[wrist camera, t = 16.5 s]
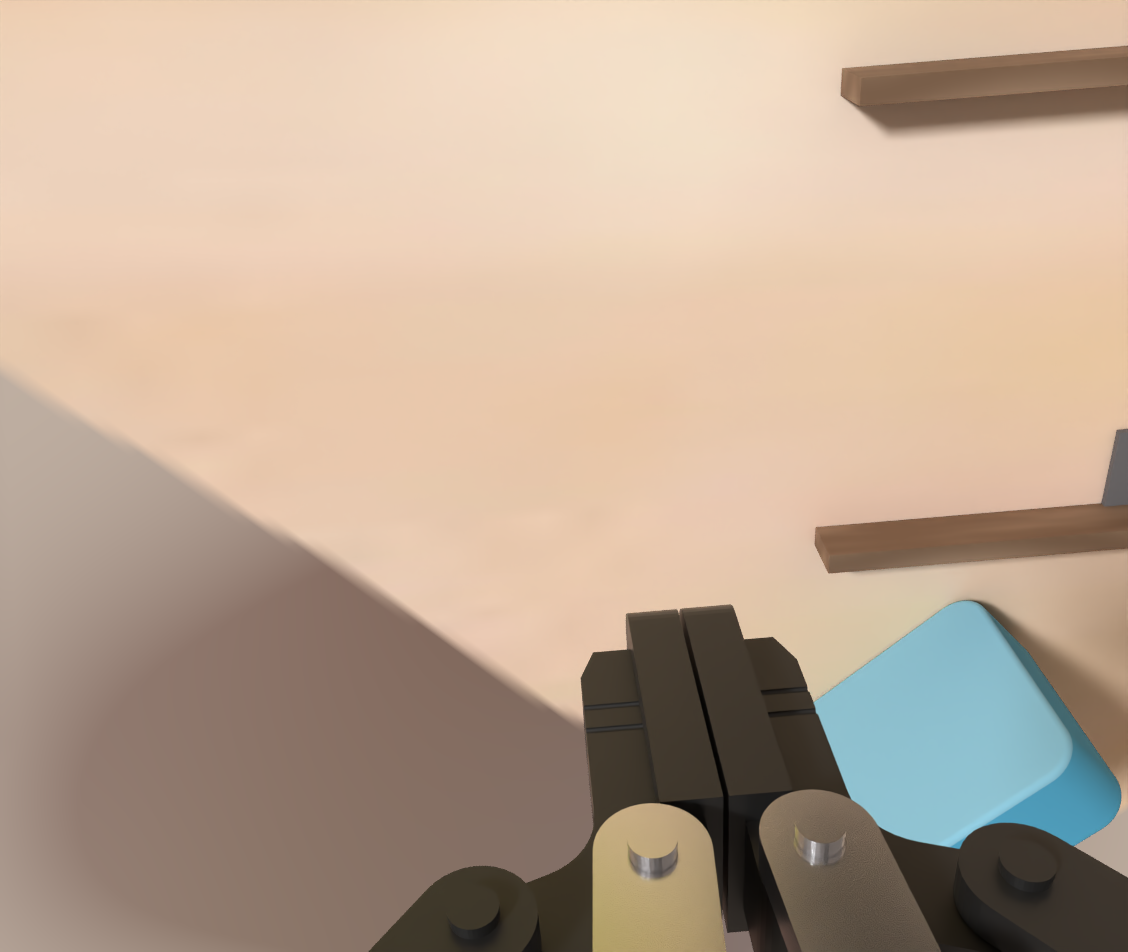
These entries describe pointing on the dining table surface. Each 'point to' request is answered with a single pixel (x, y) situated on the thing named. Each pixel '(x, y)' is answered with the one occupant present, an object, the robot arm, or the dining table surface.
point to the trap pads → (1117, 472)
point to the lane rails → (999, 529)
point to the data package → (964, 737)
